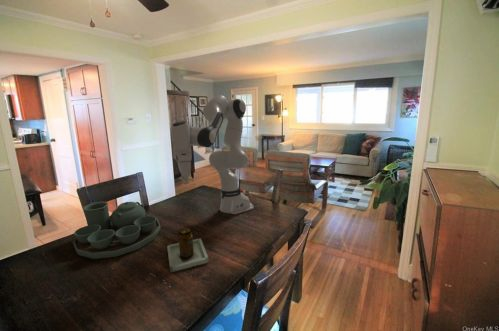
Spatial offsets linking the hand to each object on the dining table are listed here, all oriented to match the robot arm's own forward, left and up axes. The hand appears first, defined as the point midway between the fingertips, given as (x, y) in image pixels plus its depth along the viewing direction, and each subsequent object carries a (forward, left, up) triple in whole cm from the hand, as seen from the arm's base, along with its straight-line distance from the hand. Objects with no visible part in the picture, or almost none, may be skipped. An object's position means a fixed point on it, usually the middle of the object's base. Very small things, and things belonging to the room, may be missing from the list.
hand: (184, 181), depth 121 cm
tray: (+4, +21, -29) cm, 36 cm away
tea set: (+34, -11, -30) cm, 46 cm away
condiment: (+4, +22, -29) cm, 36 cm away
